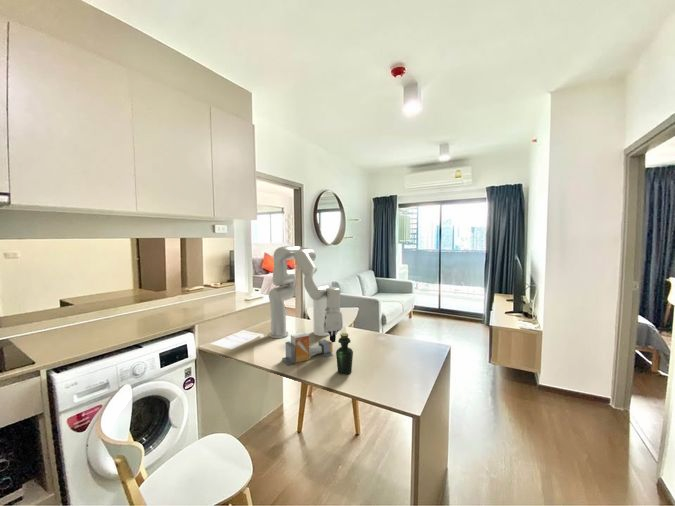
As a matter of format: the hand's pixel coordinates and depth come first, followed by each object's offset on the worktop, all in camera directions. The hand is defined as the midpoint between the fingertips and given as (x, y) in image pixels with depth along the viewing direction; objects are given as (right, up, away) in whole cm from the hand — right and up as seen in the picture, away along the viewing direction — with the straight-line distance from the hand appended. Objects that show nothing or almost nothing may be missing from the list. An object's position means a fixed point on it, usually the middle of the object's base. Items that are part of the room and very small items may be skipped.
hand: (332, 341), depth 159 cm
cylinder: (-7, -4, +30) cm, 31 cm away
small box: (-17, -6, -11) cm, 21 cm away
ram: (-7, -5, -5) cm, 10 cm away
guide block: (-4, -5, -3) cm, 8 cm away
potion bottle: (+6, -7, -25) cm, 27 cm away
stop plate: (-22, -6, -14) cm, 26 cm away
